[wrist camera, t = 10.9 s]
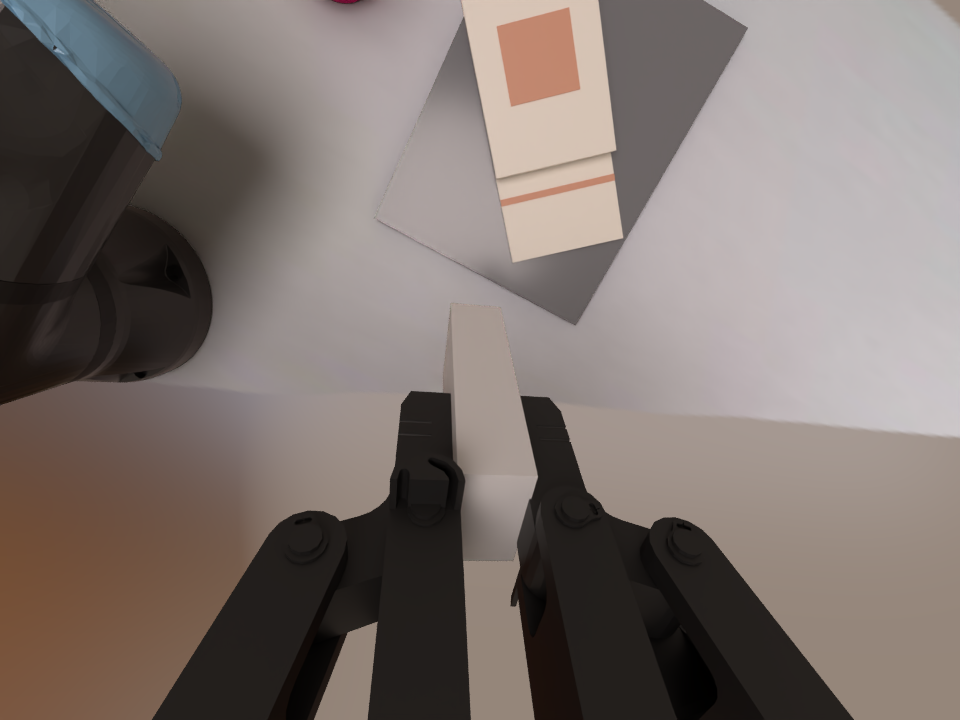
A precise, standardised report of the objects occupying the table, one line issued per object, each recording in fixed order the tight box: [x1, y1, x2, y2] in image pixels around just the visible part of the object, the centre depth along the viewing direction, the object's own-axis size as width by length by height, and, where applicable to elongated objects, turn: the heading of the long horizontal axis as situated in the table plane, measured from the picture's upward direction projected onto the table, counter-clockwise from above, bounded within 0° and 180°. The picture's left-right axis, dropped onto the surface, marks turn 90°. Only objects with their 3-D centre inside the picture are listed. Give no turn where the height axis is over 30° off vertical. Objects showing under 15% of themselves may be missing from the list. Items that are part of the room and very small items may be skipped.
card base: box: [495, 152, 623, 263], centre depth 37 cm, size 7×9×1 cm
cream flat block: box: [461, 0, 616, 180], centre depth 34 cm, size 2×9×12 cm
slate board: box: [374, 0, 748, 325], centre depth 37 cm, size 19×25×1 cm
